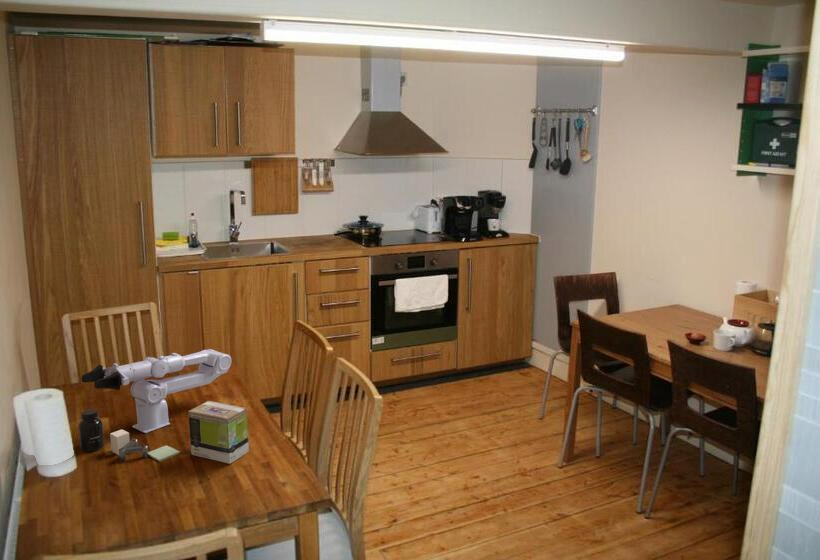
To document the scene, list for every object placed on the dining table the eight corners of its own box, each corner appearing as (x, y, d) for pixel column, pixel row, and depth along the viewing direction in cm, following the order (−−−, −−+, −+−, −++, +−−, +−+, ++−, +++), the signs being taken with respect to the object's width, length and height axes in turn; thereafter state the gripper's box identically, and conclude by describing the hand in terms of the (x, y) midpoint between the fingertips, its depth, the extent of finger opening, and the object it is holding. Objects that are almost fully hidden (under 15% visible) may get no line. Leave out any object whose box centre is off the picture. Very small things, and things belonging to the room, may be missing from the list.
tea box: (250, 451, 232) (248, 407, 228) (229, 465, 223) (227, 419, 219) (211, 442, 238) (208, 398, 234) (189, 455, 229) (186, 410, 225)
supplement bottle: (95, 453, 230) (92, 417, 227) (76, 451, 231) (72, 415, 228) (108, 443, 236) (105, 408, 233) (89, 441, 238) (86, 406, 235)
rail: (136, 448, 233) (135, 438, 232) (151, 456, 228) (150, 445, 227) (113, 457, 227) (112, 446, 226) (128, 465, 222) (127, 454, 221)
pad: (166, 446, 234) (166, 445, 234) (179, 453, 230) (179, 451, 230) (146, 454, 229) (146, 453, 229) (159, 461, 225) (159, 459, 224)
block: (123, 446, 234) (121, 429, 233) (130, 450, 232) (129, 432, 230) (111, 451, 231) (110, 433, 230) (118, 455, 229) (117, 437, 227)
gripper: (116, 355, 243) (76, 364, 233) (141, 366, 235) (100, 375, 224) (117, 376, 245) (76, 385, 234) (141, 387, 236) (101, 397, 225)
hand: (88, 381), depth 229 cm, fingers open, 7 cm apart
